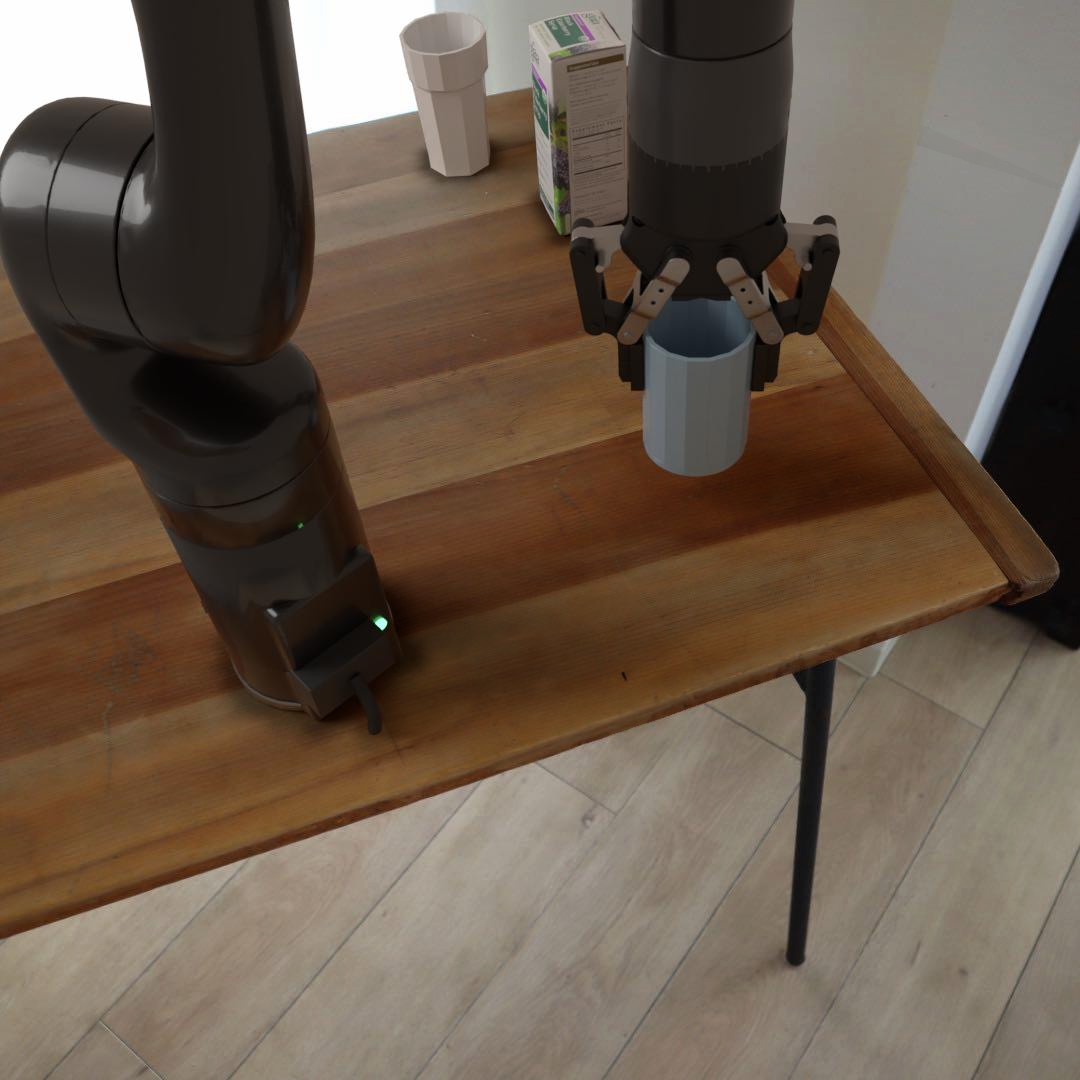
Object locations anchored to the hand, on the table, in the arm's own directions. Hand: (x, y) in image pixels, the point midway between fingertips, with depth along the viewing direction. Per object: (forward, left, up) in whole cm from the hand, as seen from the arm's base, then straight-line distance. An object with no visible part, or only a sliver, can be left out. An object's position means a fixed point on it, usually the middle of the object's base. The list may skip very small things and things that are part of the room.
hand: (697, 381), depth 68 cm
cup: (+38, -13, -8) cm, 41 cm away
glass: (0, 0, -5) cm, 5 cm away
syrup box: (+26, -15, -8) cm, 31 cm away
